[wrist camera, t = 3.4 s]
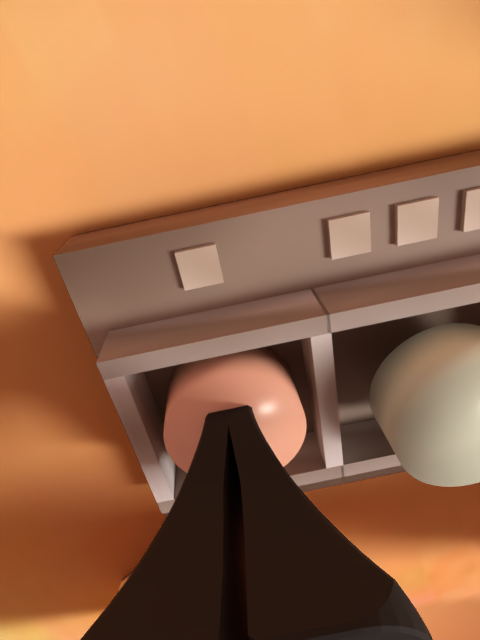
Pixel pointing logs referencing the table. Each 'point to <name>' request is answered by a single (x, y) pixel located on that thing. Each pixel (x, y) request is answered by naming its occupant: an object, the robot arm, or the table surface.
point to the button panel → (283, 302)
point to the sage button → (433, 404)
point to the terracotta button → (234, 401)
